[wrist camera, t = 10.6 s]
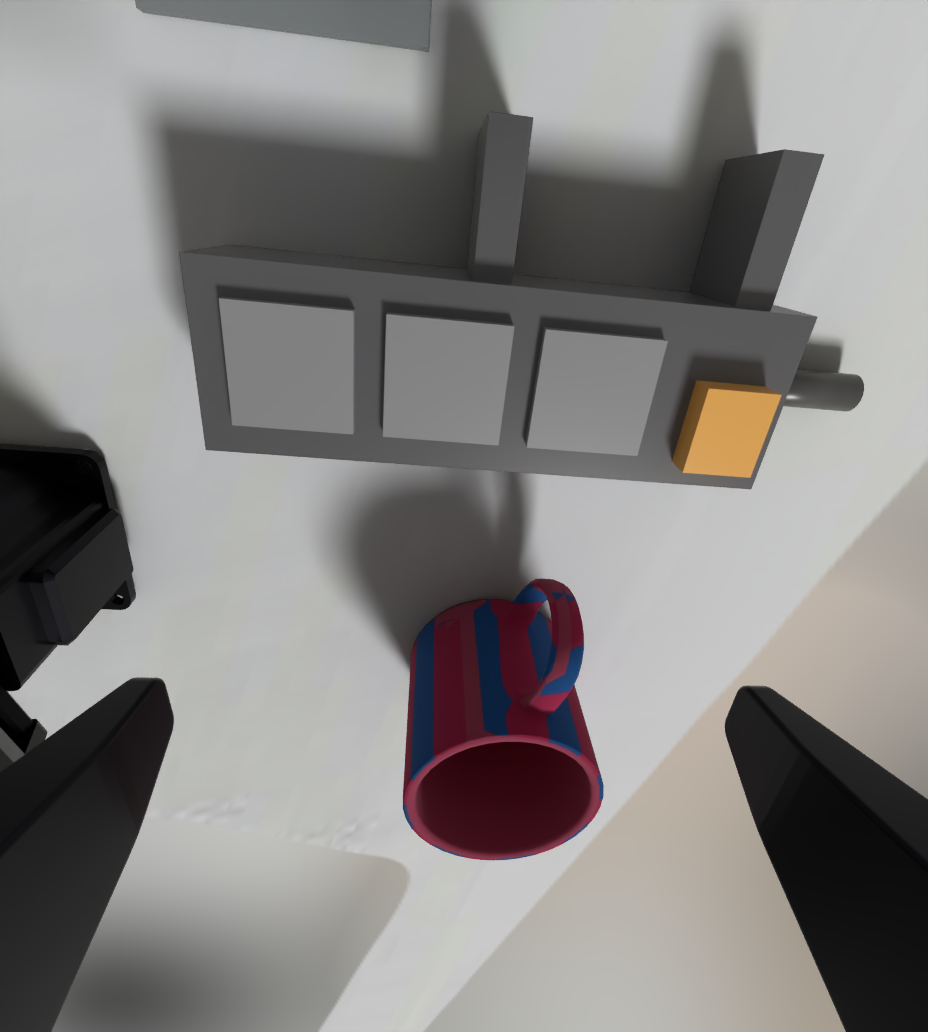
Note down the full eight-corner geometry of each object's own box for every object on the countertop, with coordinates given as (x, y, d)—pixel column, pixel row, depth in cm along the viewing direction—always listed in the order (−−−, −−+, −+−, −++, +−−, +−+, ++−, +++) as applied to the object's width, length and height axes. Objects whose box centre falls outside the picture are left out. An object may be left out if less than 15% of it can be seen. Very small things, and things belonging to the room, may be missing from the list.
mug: (388, 688, 25) (373, 838, 19) (484, 509, 21) (503, 629, 15) (519, 727, 27) (543, 876, 21) (633, 567, 22) (704, 697, 16)
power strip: (244, 410, 18) (194, 461, 15) (214, 96, 14) (135, 55, 11) (807, 454, 20) (892, 510, 16) (922, 184, 16) (1069, 176, 12)
